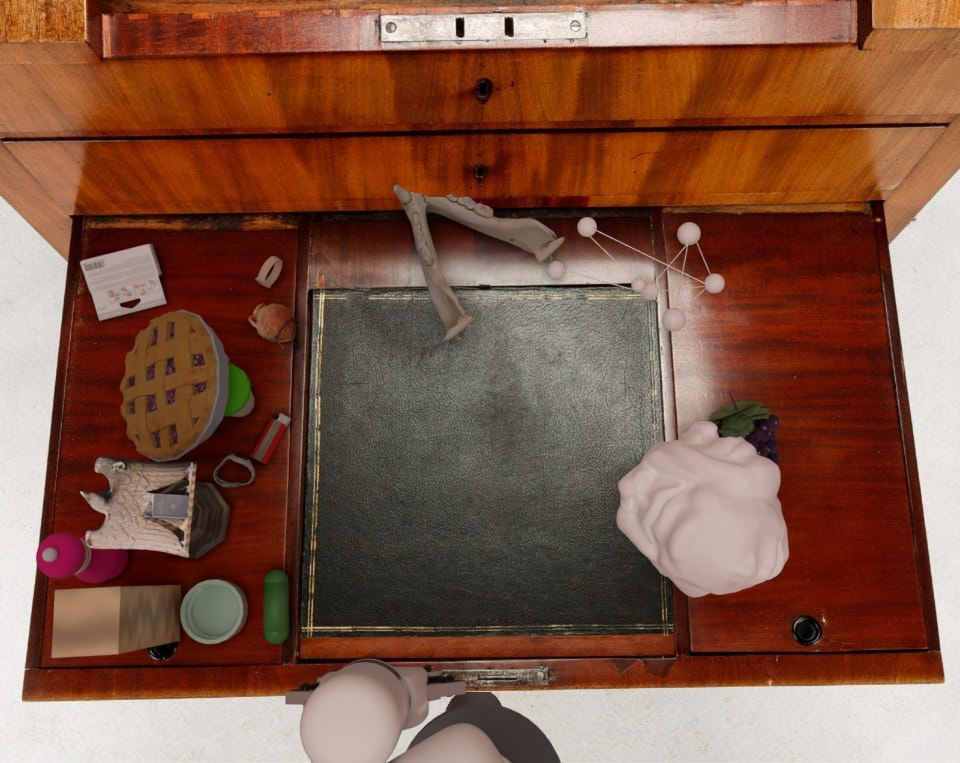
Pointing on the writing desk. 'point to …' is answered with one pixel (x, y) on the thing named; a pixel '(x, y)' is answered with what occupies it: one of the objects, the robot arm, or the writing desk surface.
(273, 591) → the cucumber
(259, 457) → the lighter
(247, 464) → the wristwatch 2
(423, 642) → the writing desk surface
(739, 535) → the head sculpture
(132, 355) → the pie
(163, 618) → the oak stand
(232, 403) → the cup
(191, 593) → the pale green round dish
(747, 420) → the fruit
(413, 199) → the jawbone
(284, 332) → the pot
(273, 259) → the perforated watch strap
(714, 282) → the molecule model
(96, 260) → the ink cartridge box
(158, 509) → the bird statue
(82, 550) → the pepper mill
